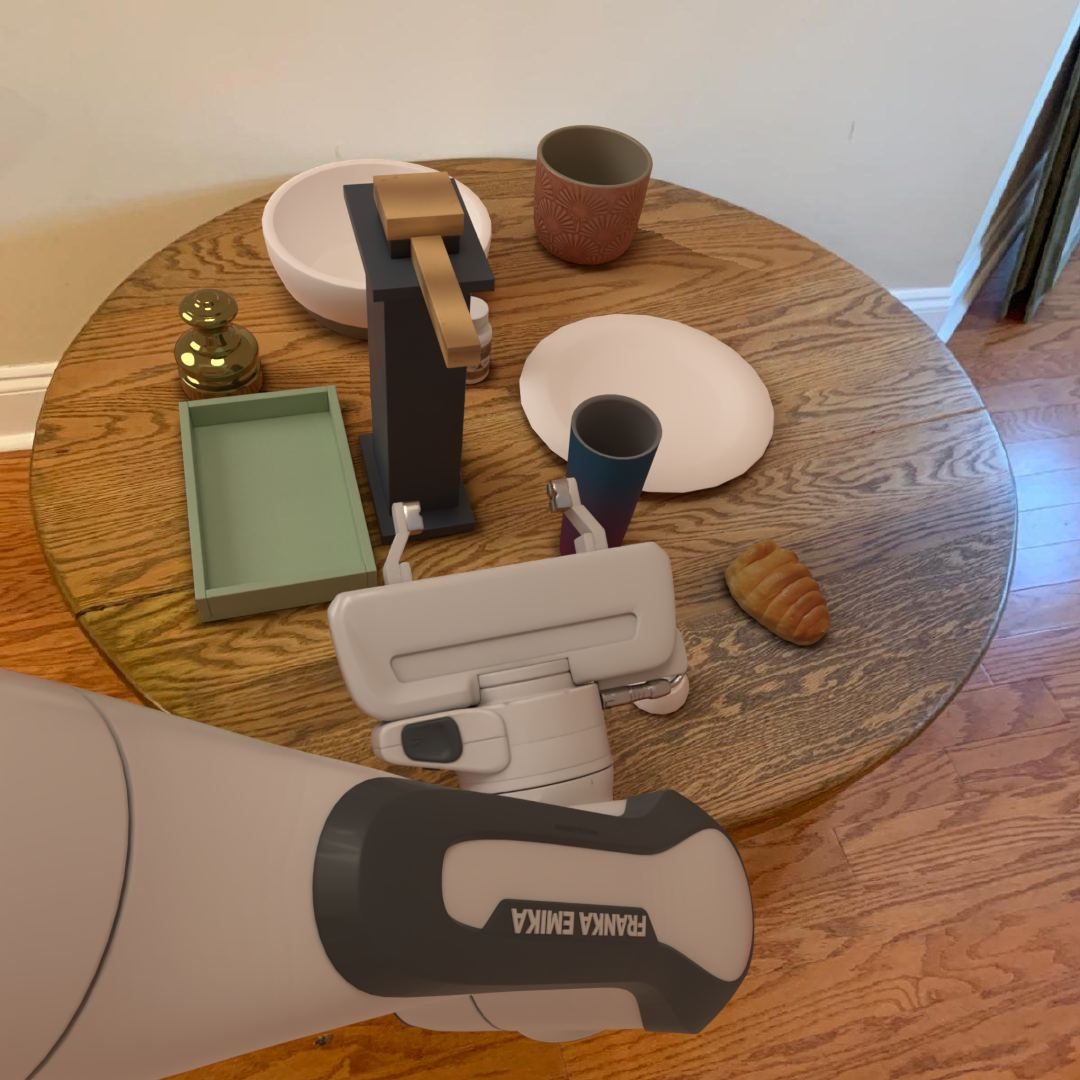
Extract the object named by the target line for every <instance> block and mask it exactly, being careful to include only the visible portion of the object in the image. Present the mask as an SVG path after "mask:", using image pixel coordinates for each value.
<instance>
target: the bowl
mask: <svg viewBox="0 0 1080 1080" xmlns="http://www.w3.org/2000/svg"><path fill="white" fill-rule="evenodd" d="M428 172H440V171H439V170H438V169H435V168H431V167H428V166H425V165H421V164H418V163H413V162H409V161H403V160H397V159H386V158H355V159H346V160H339V161H333V162H329V163H325V164H322V165H321V164H320V165H318V166H314V167H312V168H310V169H307V170H305V171H303V172H300V173H298V174H296V175H295V176H293V177H291V178H289V179H288V180H286V181H285V182H284V183H283V184H281V185H280V186H279V187H278V188H277V189H276V190H275V191H274V192H273V193H272V194H271V196H270V197H269V199H268V201H267V202H266V203H265V206H264V208H263V213H262V217H261V227H262V228H261V229H262V235H263V239H264V242H265V246H266V251H267V255H268V258H269V260H270V262H271V264H272V266H273V268H274V271H275V272H276V273H277V275H278V277H279V279H280V280H281V282H282V283H283V286H284V287H285V288H286V290H287V291H288V292H289V294H290V295H291V296H292V297H293V298H294V299H295V301H296V302H297V303H299V304H300V306H302V308H303V309H304V310H305V311H306V312H307V313H308V315H309V316H310V317H311V318H312V319H314V320H315V321H316V322H317V323H319V324H320V325H321V326H323V327H325V328H327V329H329V330H331V331H333V332H335V333H337V334H341V335H343V336H346V337H349V338H352V339H353V338H354V339H359V340H363V341H364V340H365V341H368V323H367V300H366V277H365V271H364V267H363V264H362V260H361V257H360V253H359V250H358V246H357V243H356V239H355V235H354V232H353V228H352V225H351V221H350V218H349V214H348V210H347V207H346V203H345V200H344V193H343V185H349V184H365V183H373V176H378V175H394V174H411V173H428ZM449 177H450V178H454V177H453V176H451V175H449ZM454 179H455V181H456V184H457V186H458V189H459V191H460V194H461V196H462V199H463V201H464V204H465V206H466V209H467V211H468V214H469V216H470V218H471V221H472V223H473V226H474V228H475V231H476V233H477V236H478V238H479V241H480V243H481V246H482V248H483V250H484V253H485V255H486V258H487V259H488V258H489V253H490V247H491V242H492V238H493V227H492V225H493V223H492V219H491V217H490V214H489V212H488V208H487V207H486V206H485V204H484V202H483V201H482V200H481V199H480V197H479V196H478V195H477V194H476V193H475V192H474V191H473V190H472V189H470V188H469V187H468V186H467V185H465V184H464V183H462V182H461V181H459V180H457V179H456V178H454Z"/></svg>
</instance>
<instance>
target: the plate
mask: <svg viewBox="0 0 1080 1080" xmlns="http://www.w3.org/2000/svg"><path fill="white" fill-rule="evenodd" d="M518 383H519V392H520V393H519V397H520V406H521V408H522V410H523V413H524V415H525V417H526V419H527V421H528V424H529V426H530V428H531V430H532V431H533V432H534V433H535V434H536V435H537V437H538V438H539V440H541V441H542V443H543V444H544V445H545V446H546V447H547V448H548V450H549V451H550V452H551V453H552V454H554V455H555V456H557V457H558V458H560V459H561V460H562V461H564V462H565V463H567V460H568V450H569V439H570V428H571V419H572V415H573V412H574V410H575V409H576V408H577V406H578V405H579V404H581V403H582V402H583V401H585V400H587V399H589V398H591V397H594V396H598V395H605V394H616V395H623V396H627V397H630V398H633V399H635V400H638V401H640V402H641V403H643V404H645V405H646V406H648V407H649V408H650V409H651V410H652V411H653V412H654V413H655V414H656V416H657V417H658V419H659V421H660V423H661V427H662V438H661V441H660V444H659V446H658V449H657V452H656V454H655V457H654V460H653V462H652V465H651V468H650V470H649V473H648V476H647V478H646V481H645V484H644V486H643V489H642V492H641V493H646V494H670V495H671V494H672V495H673V494H674V495H675V494H676V495H677V494H678V495H679V494H680V495H684V494H689V493H694V492H701V491H705V490H709V489H715V488H718V487H720V486H722V485H725V484H726V483H729V482H731V481H732V480H735V479H737V478H739V477H741V476H744V474H746V472H747V471H748V470H750V468H752V467H753V466H754V465H755V464H756V463H758V461H759V460H761V458H763V455H764V454H765V452H766V449H767V448H768V445H769V443H770V442H771V439H772V437H773V436H774V435H773V434H774V421H775V410H774V407H773V403H772V400H771V396H770V393H769V390H768V388H767V386H766V385H765V383H764V382H763V380H762V378H760V376H759V374H758V373H757V371H756V370H755V368H754V367H753V366H752V365H751V364H750V363H748V361H747V360H745V359H744V357H742V356H741V355H740V354H739V353H738V352H737V351H736V350H735V349H733V347H730V346H729V345H727V344H725V342H722V341H721V340H719V339H718V338H716V337H714V336H713V335H711V334H710V333H707V332H705V331H703V330H700V329H697V328H695V327H693V326H690V325H687V324H685V323H682V322H680V321H676V320H672V319H667V318H663V317H658V316H653V315H648V314H628V313H626V314H625V313H613V314H612V313H611V314H607V315H599V316H591V317H586V318H583V319H580V320H577V321H574V322H572V323H569V324H566V325H563V326H561V327H559V328H558V329H556V330H555V331H554V332H552V333H550V334H549V335H547V336H545V337H544V338H542V339H541V340H540V341H539V342H538V344H537V345H536V346H535V347H534V348H533V350H532V351H531V352H530V353H529V354H528V356H527V357H526V358H525V361H524V365H523V368H522V371H521V374H520V377H519V379H518Z"/></svg>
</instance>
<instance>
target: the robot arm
mask: <svg viewBox="0 0 1080 1080" xmlns="http://www.w3.org/2000/svg"><path fill="white" fill-rule="evenodd" d="M545 489H546V495H547V497H548V498H549V502H548V506H549V507H548V508H549V511H550V514H558V513H559V514H560V513H563V512H564V514H565V515H566V516H567V518H568V519H569V520H570V522H571V523H572V524H573V525H574V527H575V528H576V529H577V530H578V532H579V533H580V534H581V536H580V537H578V538H576V539H575V540H574V543H575V549H576V554H572V555H566V556H561V555H560V556H555V557H548V558H542V559H537V560H531V561H523V562H519V563H512V564H506V565H500V566H494V567H488V568H482V569H475V570H470V571H464V572H463V571H462V572H457V573H452V574H445V575H440V576H433V577H427V578H421V579H415V580H414V579H413V573H412V568H411V563H410V562H408V561H403V562H400V561H401V558H402V555H403V553H404V549H405V547H406V545H407V542H408V541H407V539H408V536H410V535H415V534H421V532H422V531H423V529H424V526H423V520H422V517H421V516H420V515H419V512H420V510H421V508H420V503H419V501H418V500H414V501H407V502H400V503H393V505H392V515H393V521H394V527H395V533H396V536H395V538H394V540H393V543H391V545H390V549H389V551H388V554H387V557H386V559H385V562H384V564H383V567H382V575H383V576H382V577H383V581H384V585H378V587H372V588H366V589H360V590H354V591H348V592H342V593H339V594H338V595H337V596H336V597H335V598H334V600H333V601H330V604H329V606H328V607H327V609H326V618H327V624H328V629H329V634H330V639H331V643H332V646H333V650H334V654H335V657H336V661H337V665H338V668H339V671H340V674H341V677H342V680H343V683H344V685H345V688H346V690H347V693H348V696H349V697H350V699H351V701H352V702H353V705H355V707H356V708H357V709H358V710H359V711H360V712H361V713H362V714H364V715H365V716H367V717H369V718H370V719H373V720H376V721H379V722H377V723H376V724H375V725H374V726H373V727H372V729H371V732H370V744H371V748H372V749H371V750H372V753H373V754H374V756H375V757H376V758H377V759H378V760H379V761H381V762H383V763H384V764H385V763H386V764H390V765H393V766H403V767H404V766H405V767H414V768H421V769H423V770H425V771H430V772H432V771H434V772H440V771H441V770H444V771H445V770H446V771H454V774H456V775H457V779H458V784H459V788H457V787H454V786H453V787H452V786H448V785H443V784H437V783H431V782H426V781H421V780H417V779H412V778H409V777H406V776H402V775H399V774H395V773H392V772H388V771H385V770H380V769H377V768H373V767H369V766H366V765H362V764H358V763H354V762H350V761H345V760H341V759H337V758H333V757H329V756H325V755H321V754H316V753H311V752H307V751H303V750H300V749H296V748H293V747H289V746H285V745H282V744H281V745H280V744H277V743H272V742H269V741H265V740H262V739H259V738H255V737H252V736H249V735H245V734H242V733H238V732H235V731H232V730H228V729H224V728H222V727H218V726H215V725H211V724H208V723H204V722H201V721H197V720H194V719H190V718H186V717H184V716H180V715H176V714H172V713H169V712H165V711H163V710H159V709H155V708H152V707H148V706H145V705H141V704H138V703H135V702H132V701H129V700H125V699H122V698H118V697H114V696H111V695H108V694H104V693H102V692H101V693H100V692H96V691H92V690H89V689H85V688H82V687H78V686H75V685H72V684H67V683H64V682H60V681H56V680H52V679H48V678H45V677H41V676H36V675H32V674H29V673H24V672H20V671H17V670H12V669H8V668H4V667H0V1080H163V1079H165V1078H168V1077H173V1076H175V1075H179V1074H182V1073H186V1072H189V1071H192V1070H196V1069H198V1068H199V1069H200V1068H203V1067H205V1066H209V1065H212V1064H215V1063H219V1062H223V1061H225V1060H229V1059H232V1058H236V1057H239V1056H242V1055H245V1054H249V1053H253V1052H256V1051H259V1050H263V1049H267V1048H270V1047H274V1046H277V1045H280V1044H284V1043H287V1042H292V1041H295V1040H299V1039H302V1038H306V1037H310V1036H313V1035H316V1034H321V1033H324V1032H329V1031H332V1030H335V1029H339V1028H342V1027H347V1026H350V1025H355V1024H358V1023H361V1022H365V1021H368V1020H372V1019H376V1018H379V1017H383V1016H387V1015H390V1014H392V1015H393V1016H394V1017H395V1019H397V1020H398V1021H399V1022H401V1024H403V1025H406V1026H407V1027H410V1028H419V1029H420V1028H421V1029H425V1030H430V1031H436V1032H437V1031H438V1032H498V1031H499V1032H503V1031H504V1032H505V1031H508V1032H518V1033H519V1034H521V1035H523V1036H524V1037H526V1038H529V1039H531V1040H534V1041H537V1042H541V1043H542V1042H543V1043H548V1044H562V1043H564V1044H565V1043H571V1042H576V1041H577V1042H578V1041H581V1040H584V1039H587V1038H591V1037H594V1036H595V1035H598V1034H600V1033H602V1032H604V1031H606V1030H644V1031H645V1032H647V1033H650V1032H651V1033H667V1034H682V1035H683V1034H684V1035H698V1034H700V1033H701V1032H702V1031H704V1029H705V1028H706V1027H707V1026H708V1025H709V1024H711V1023H712V1021H713V1020H714V1019H715V1018H716V1017H717V1016H718V1015H719V1014H720V1013H721V1012H722V1011H723V1010H724V1008H725V1007H726V1006H727V1005H728V1003H729V1002H730V1001H731V1000H732V998H733V997H734V995H735V994H736V992H737V991H738V990H739V988H740V987H741V985H742V984H743V982H744V980H745V979H746V977H747V976H748V975H747V974H748V973H749V971H750V967H751V963H752V960H753V954H754V945H755V911H754V902H753V896H752V889H751V886H750V885H751V884H750V882H749V878H748V873H747V870H746V867H745V864H744V860H743V859H742V858H743V857H742V856H741V853H740V851H739V849H738V846H737V845H736V843H735V841H734V839H733V838H732V837H731V835H730V834H729V832H728V831H727V830H725V828H724V827H723V826H722V825H721V824H720V823H719V822H718V821H717V820H716V819H714V817H712V816H711V815H710V814H709V813H708V812H706V811H705V810H704V809H703V808H702V807H700V806H699V805H697V804H696V803H695V802H693V800H691V799H689V798H688V797H686V796H685V795H683V794H681V793H679V792H678V791H677V790H675V789H672V788H668V789H663V790H657V791H651V792H646V793H645V792H644V793H640V794H634V795H629V796H627V798H626V799H617V800H616V799H615V800H614V794H613V793H614V779H615V767H614V763H613V762H614V761H613V757H612V752H611V747H610V740H609V736H608V731H607V726H606V721H605V715H604V710H611V709H613V708H614V709H615V708H619V707H623V706H628V705H630V704H634V703H633V702H636V701H640V700H644V699H657V698H661V697H664V696H667V695H668V694H670V693H671V688H673V687H675V686H677V685H678V684H679V683H680V682H681V681H682V679H683V677H684V676H685V674H686V673H687V671H688V666H689V661H688V655H687V650H686V645H685V640H684V637H683V634H682V632H681V630H680V628H678V626H677V606H676V595H675V594H676V593H675V585H674V577H673V569H672V564H671V563H672V562H671V559H670V556H669V554H668V553H667V552H666V551H665V550H664V549H663V548H662V547H661V546H660V545H659V544H658V543H656V542H655V541H645V542H639V543H632V544H627V545H621V547H614V548H608V544H607V539H606V534H605V530H604V528H603V527H602V526H601V525H600V524H599V523H598V522H597V520H596V519H595V518H594V517H593V516H592V515H591V513H590V512H589V511H588V510H587V509H586V508H585V507H584V505H581V502H580V497H579V492H578V487H577V482H576V480H575V478H566V477H565V478H561V479H554V480H549V482H548V483H547V484H546V487H545ZM674 675H677V676H676V677H675V678H674V679H673V680H672V681H670V682H669V681H668V679H662V678H664V677H669V676H674ZM686 675H687V674H686ZM659 678H660V679H659ZM644 681H646V682H645V683H641V684H636V685H630V684H635V683H639V682H644Z"/></svg>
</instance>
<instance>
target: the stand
mask: <svg viewBox="0 0 1080 1080" xmlns="http://www.w3.org/2000/svg"><path fill="white" fill-rule="evenodd" d="M455 179H456V178H454V177H453V178H450V180H451V182H452V185H453V187H454V190H455V192H456V195H457V197H458V200H459V202H460V205H461V207H462V210H463V212H464V227H463V235H460V248H459V253H455V254H448V256H449V259H450V262H451V264H452V267H453V270H454V273H455V275H456V278H457V281H458V283H459V286H460V289H461V292H462V294H463V297H464V300H465V302H466V305H467V308H468V311H469V313H470V304H471V296H472V294H478V293H479V294H480V293H489V292H490V293H491V292H495V286H496V278H495V276H494V273H493V271H492V268H491V265H490V263H489V261H488V258H486V255H485V253H484V250H483V248H482V246H481V243H480V241H479V238H478V236H477V233H476V231H475V228H474V226H473V223H472V221H471V218H470V216H469V214H468V211H467V209H466V206H465V204H464V201H463V199H462V196H461V194H460V191H459V189H458V186H457V184H456V181H455ZM343 193H344V200H345V203H346V207H347V210H348V214H349V218H350V221H351V225H352V228H353V232H354V235H355V239H356V243H357V246H358V250H359V253H360V257H361V260H362V264H363V267H364V271H365V277H366V300H367V323H368V340H367V343H368V361H369V362H368V366H369V389H370V411H371V414H370V415H371V433H363V434H357V439H358V440H357V442H358V447H359V451H360V456H361V460H362V464H363V468H364V473H365V478H366V482H367V485H368V490H369V494H370V499H371V503H372V506H373V512H374V516H375V519H376V525H377V528H378V532H379V533H378V534H379V537H380V542H381V544H382V545H383V546H385V545H392V543H393V540H394V538H395V536H396V533H395V527H394V521H393V515H392V505H393V503H400V502H407V501H414V500H418V501H419V503H420V508H421V510H420V512H419V515H420V516H421V517H422V520H423V526H424V529H423V531H422V532H421V534H415V535H410V536H408V539H407V542H410V541H416V540H423V539H430V538H436V537H442V536H449V535H454V534H461V533H467V532H468V533H469V532H474V531H476V519H475V516H474V513H473V509H472V506H471V503H470V499H469V496H468V493H467V490H466V487H465V483H464V480H463V478H462V473H461V472H462V459H463V458H462V457H463V440H464V439H463V438H464V424H465V423H464V421H465V408H466V407H465V405H466V388H467V387H466V385H467V384H466V372H467V366H464V367H455V368H447V366H446V363H445V360H444V357H443V354H442V351H441V348H440V345H439V342H438V338H437V335H436V332H435V329H434V326H433V323H432V320H431V317H430V314H429V311H428V308H427V305H426V302H425V299H424V296H423V293H422V290H421V287H420V284H419V281H418V278H417V275H416V272H415V269H414V266H413V263H412V260H411V257H406V258H394V259H391V258H390V254H389V251H388V248H387V245H386V241H385V238H384V235H383V232H382V229H381V225H380V222H379V219H378V216H377V206H376V203H375V199H374V191H373V183H365V184H349V185H343Z"/></svg>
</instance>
